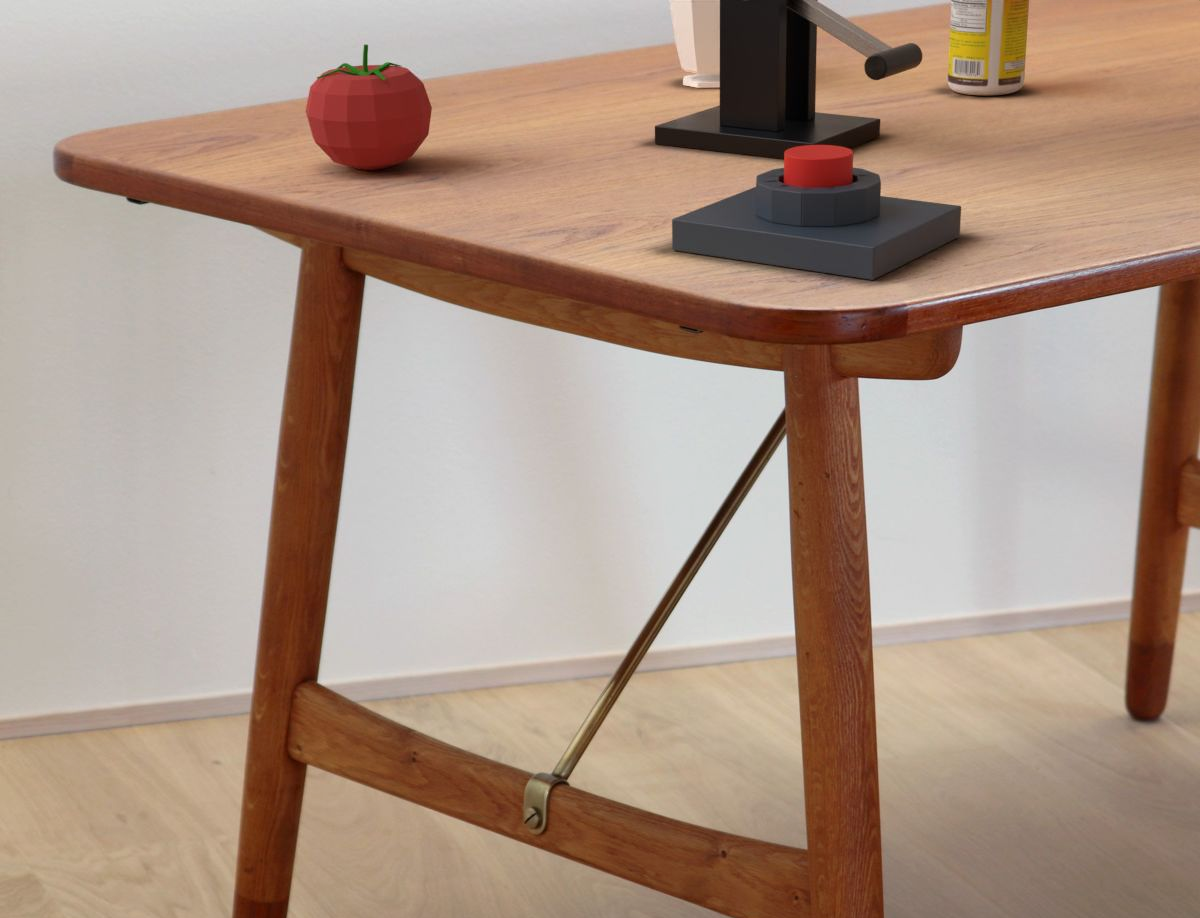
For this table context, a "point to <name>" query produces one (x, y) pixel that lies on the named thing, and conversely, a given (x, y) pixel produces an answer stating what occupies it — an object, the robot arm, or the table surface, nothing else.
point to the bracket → (765, 89)
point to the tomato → (368, 114)
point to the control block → (818, 227)
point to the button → (818, 166)
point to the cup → (698, 40)
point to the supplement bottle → (987, 46)
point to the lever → (860, 40)
